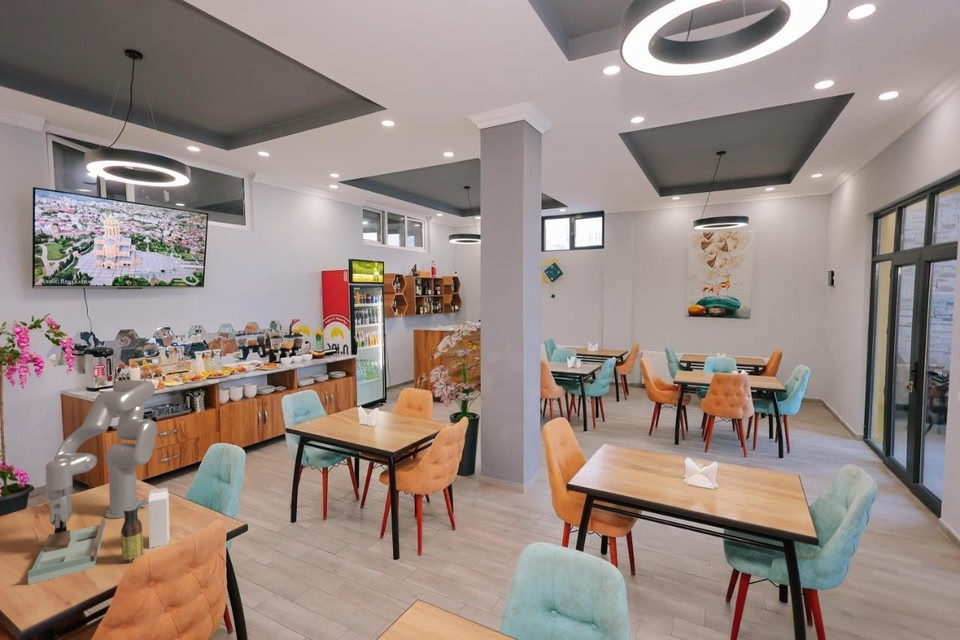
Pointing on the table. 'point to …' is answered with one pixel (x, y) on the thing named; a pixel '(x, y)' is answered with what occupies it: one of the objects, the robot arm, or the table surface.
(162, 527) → the milk
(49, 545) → the walnut block
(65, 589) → the table surface
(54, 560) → the board
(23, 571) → the table surface
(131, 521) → the sauce bottle
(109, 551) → the table surface
